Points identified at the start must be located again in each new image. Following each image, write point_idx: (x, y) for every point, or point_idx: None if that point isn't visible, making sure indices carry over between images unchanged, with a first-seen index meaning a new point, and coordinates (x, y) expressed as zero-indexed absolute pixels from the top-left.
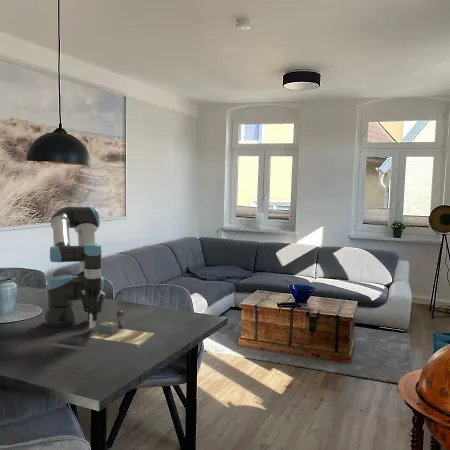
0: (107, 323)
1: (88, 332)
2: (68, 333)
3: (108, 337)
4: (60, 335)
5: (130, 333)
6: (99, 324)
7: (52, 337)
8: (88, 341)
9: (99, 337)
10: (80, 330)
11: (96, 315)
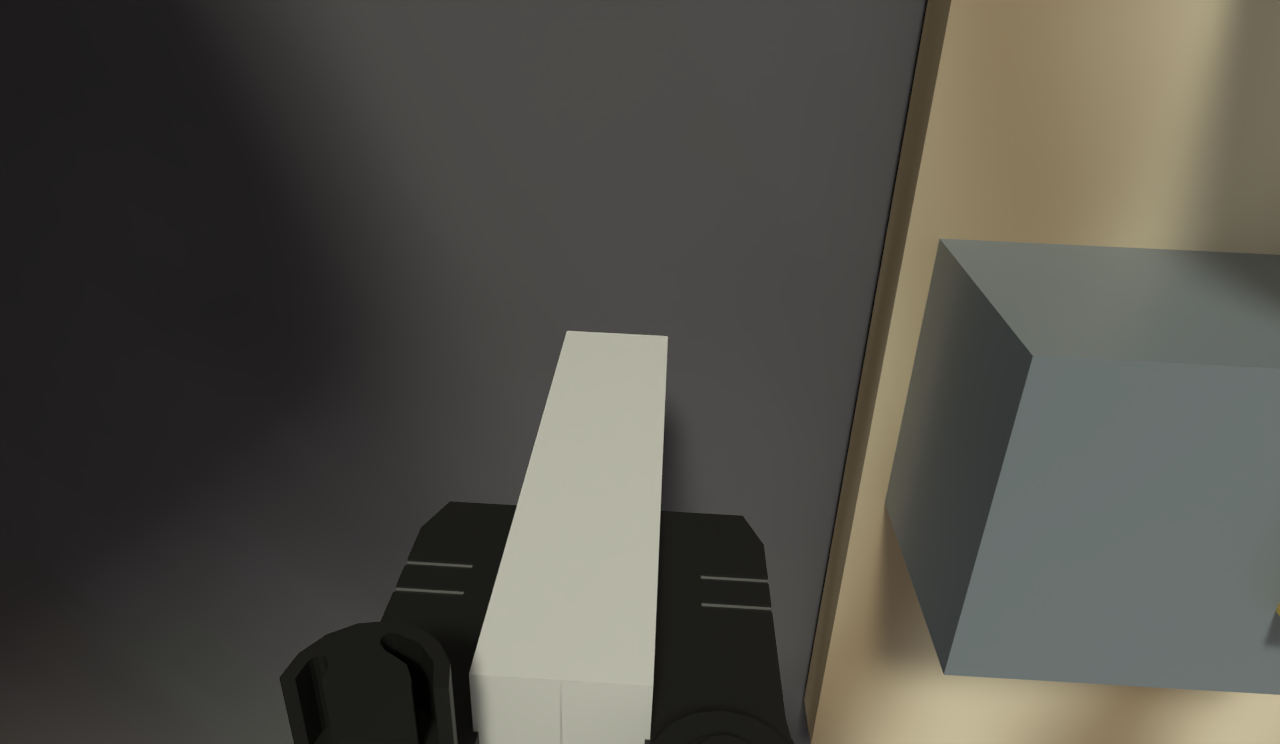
0: (1221, 516)
1: (501, 313)
2: (154, 501)
3: None
4: (124, 627)
5: None
6: (968, 661)
7: (100, 731)
8: None
9: (1023, 708)
10: (214, 245)
11: (774, 702)
